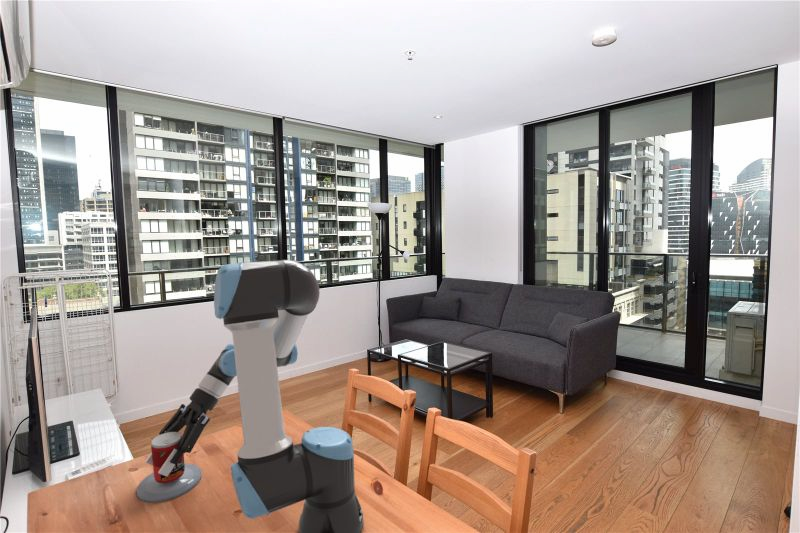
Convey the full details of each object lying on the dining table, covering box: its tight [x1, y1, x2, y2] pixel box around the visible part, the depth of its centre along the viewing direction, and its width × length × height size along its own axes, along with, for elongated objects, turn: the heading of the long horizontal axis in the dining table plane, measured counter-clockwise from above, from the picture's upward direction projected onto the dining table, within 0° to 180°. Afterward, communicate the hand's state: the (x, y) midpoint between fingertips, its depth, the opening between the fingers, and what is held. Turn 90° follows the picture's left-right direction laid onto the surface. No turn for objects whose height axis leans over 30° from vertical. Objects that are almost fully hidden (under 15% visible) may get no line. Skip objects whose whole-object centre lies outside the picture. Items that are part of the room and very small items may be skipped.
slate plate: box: [136, 463, 202, 503], centre depth 118 cm, size 16×16×1 cm
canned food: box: [150, 431, 185, 483], centre depth 117 cm, size 8×8×11 cm
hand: (155, 469), depth 114 cm, fingers closed on canned food, 8 cm apart
